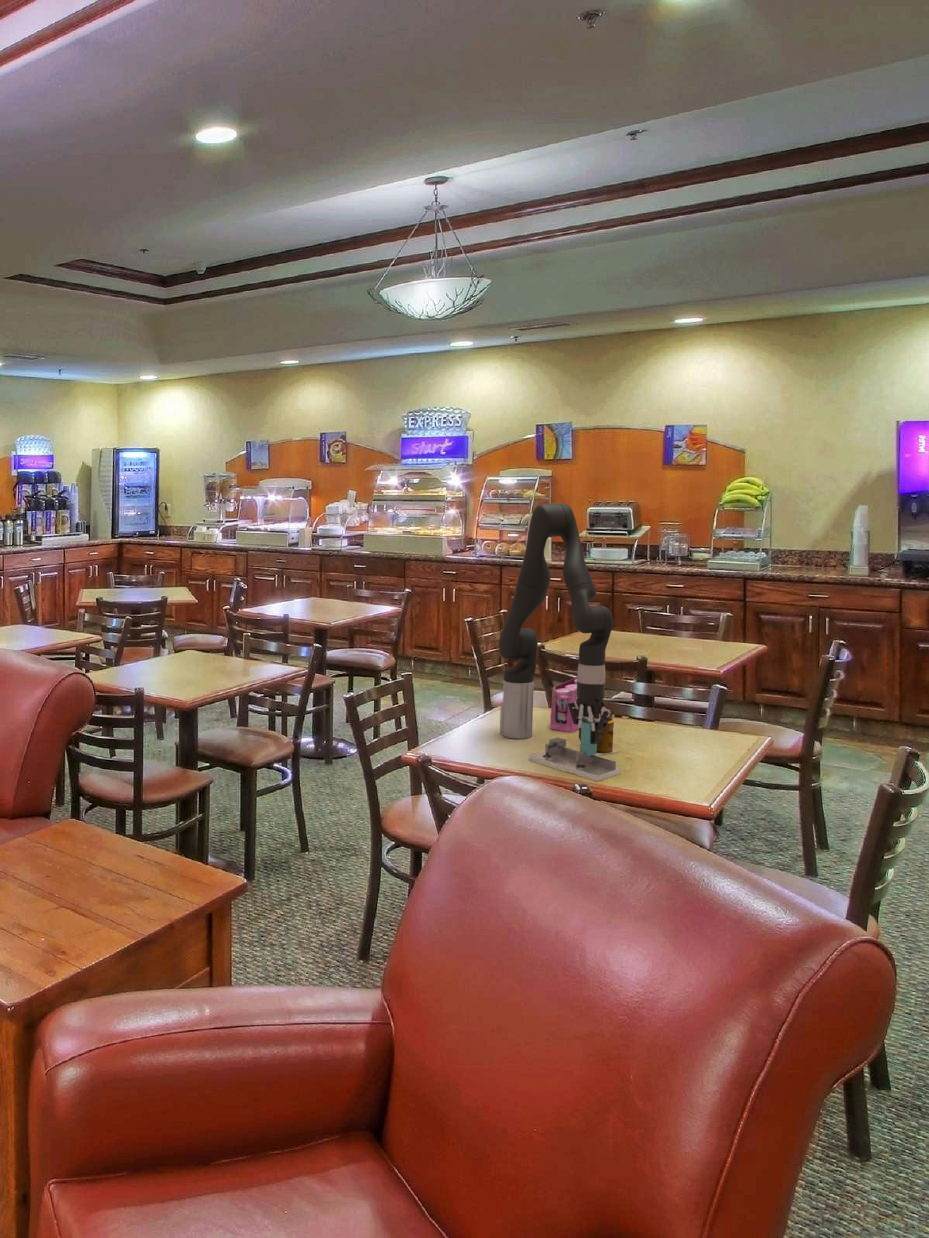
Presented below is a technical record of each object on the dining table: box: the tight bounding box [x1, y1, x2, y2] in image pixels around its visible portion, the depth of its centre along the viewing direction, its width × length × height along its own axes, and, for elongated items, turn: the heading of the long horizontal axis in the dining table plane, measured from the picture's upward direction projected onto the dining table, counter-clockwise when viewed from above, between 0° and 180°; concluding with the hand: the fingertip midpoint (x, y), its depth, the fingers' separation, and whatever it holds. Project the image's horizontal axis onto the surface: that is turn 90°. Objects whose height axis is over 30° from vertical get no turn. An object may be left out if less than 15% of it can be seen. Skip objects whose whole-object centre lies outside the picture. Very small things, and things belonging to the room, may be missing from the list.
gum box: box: [549, 676, 589, 733], centre depth 288 cm, size 24×8×14 cm, turn 150°
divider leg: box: [576, 720, 597, 764], centre depth 240 cm, size 3×7×11 cm, turn 134°
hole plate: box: [528, 736, 622, 782], centre depth 242 cm, size 24×10×6 cm, turn 44°
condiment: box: [594, 708, 619, 757], centre depth 258 cm, size 7×8×12 cm
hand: (588, 741), depth 241 cm, fingers closed on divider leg, 3 cm apart
